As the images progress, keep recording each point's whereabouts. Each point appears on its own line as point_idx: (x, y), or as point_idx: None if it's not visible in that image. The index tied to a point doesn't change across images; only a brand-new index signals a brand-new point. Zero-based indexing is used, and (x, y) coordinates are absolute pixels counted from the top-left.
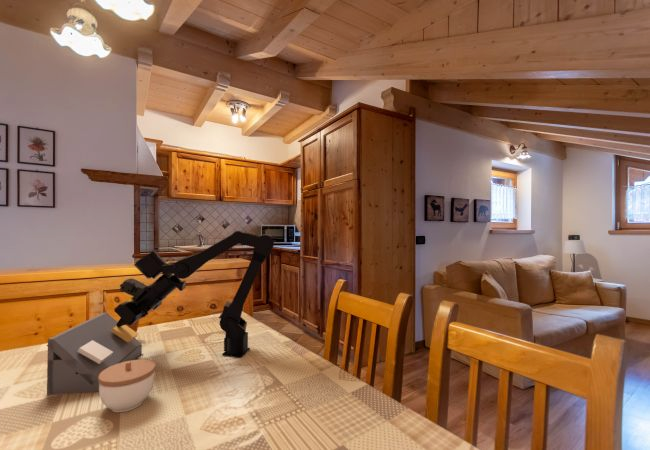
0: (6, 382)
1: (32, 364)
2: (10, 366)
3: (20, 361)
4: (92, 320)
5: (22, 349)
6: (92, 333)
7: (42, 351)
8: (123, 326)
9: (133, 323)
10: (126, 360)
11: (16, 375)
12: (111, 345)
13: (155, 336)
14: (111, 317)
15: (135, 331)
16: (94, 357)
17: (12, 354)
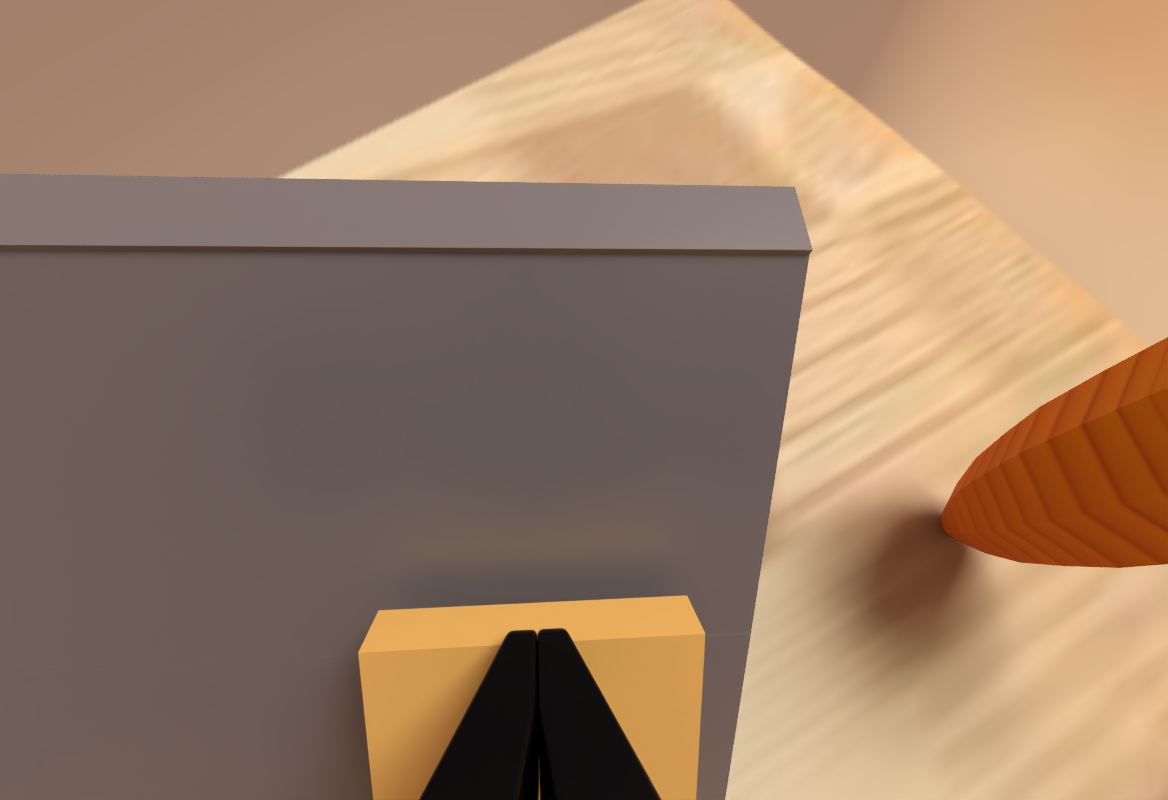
0: (297, 172)
1: (520, 150)
2: (507, 82)
3: (567, 84)
4: (268, 252)
5: (720, 15)
6: (24, 485)
7: (698, 98)
8: (618, 716)
9: (1094, 537)
10: None
11: (381, 163)
12: (225, 748)
13: (1128, 724)
14: (768, 376)
15: (1032, 562)
16: None
17: (657, 14)
